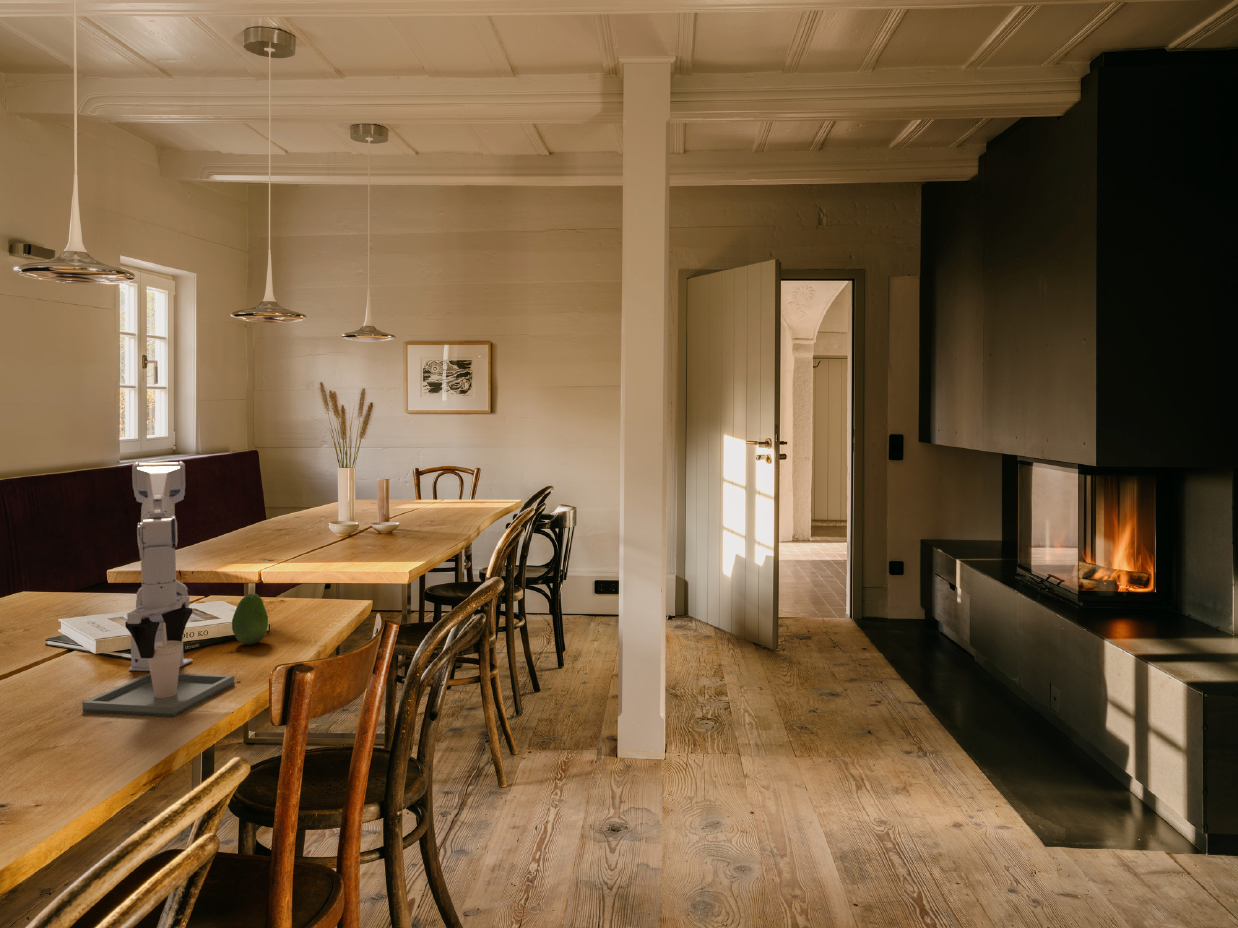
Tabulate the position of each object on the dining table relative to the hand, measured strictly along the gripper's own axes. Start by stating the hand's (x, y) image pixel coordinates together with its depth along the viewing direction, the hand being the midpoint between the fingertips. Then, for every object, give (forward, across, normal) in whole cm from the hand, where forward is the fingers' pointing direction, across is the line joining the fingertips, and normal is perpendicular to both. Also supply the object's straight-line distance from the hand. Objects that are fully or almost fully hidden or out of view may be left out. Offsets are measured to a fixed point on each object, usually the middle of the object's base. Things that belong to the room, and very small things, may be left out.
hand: (161, 651), depth 154 cm
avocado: (+9, +37, +5) cm, 38 cm away
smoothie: (+8, 0, -1) cm, 9 cm away
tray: (+9, 0, 0) cm, 9 cm away
